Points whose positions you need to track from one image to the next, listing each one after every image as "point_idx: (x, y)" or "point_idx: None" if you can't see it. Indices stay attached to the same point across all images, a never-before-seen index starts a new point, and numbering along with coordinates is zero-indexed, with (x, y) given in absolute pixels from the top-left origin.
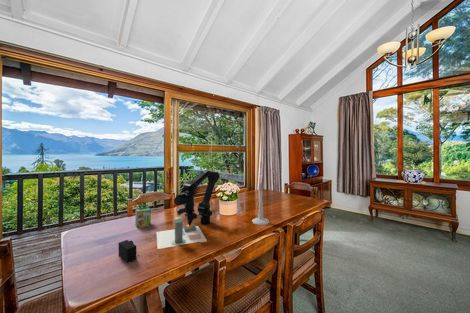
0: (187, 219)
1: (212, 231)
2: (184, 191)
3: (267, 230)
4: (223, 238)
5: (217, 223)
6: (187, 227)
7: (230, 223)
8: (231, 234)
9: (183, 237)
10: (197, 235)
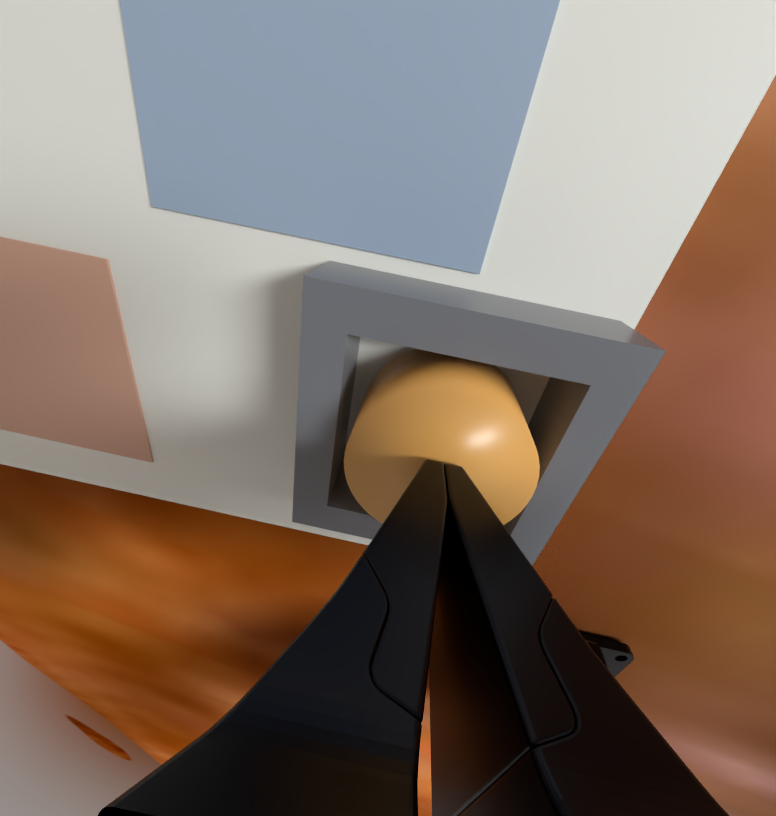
0: (530, 630)
1: (226, 596)
2: None
3: (129, 760)
4: (15, 580)
5: (428, 708)
6: (388, 387)
7: None
8: (102, 650)
9: (8, 96)
10: (82, 411)
